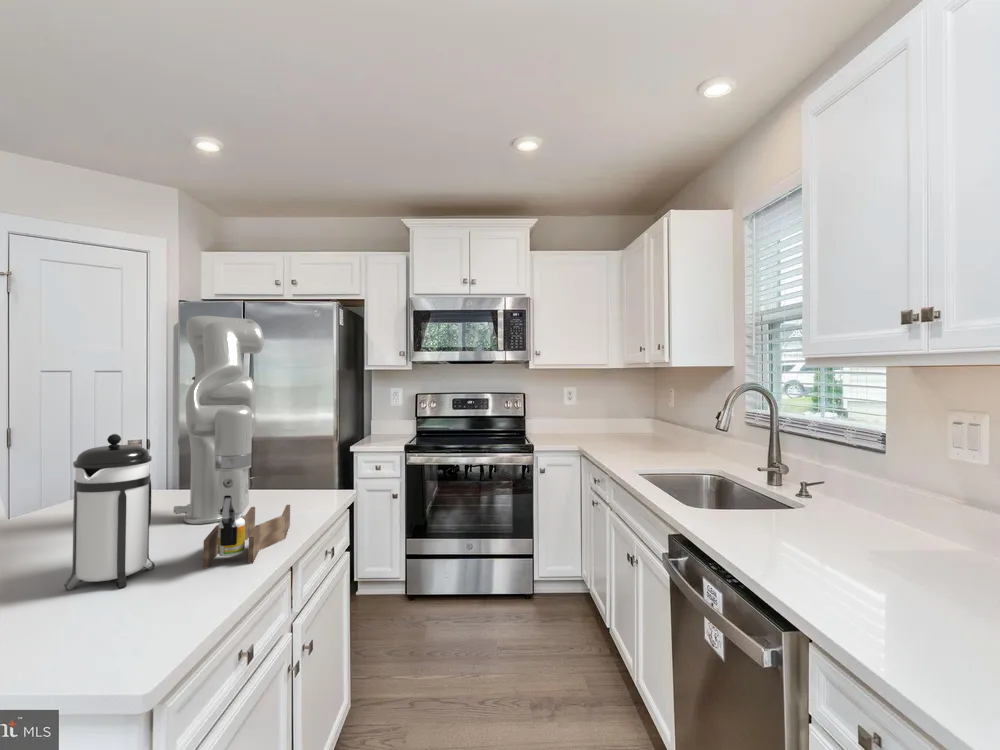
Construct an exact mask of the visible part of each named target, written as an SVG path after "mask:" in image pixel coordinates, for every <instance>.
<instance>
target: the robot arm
mask: <svg viewBox="0 0 1000 750" xmlns="http://www.w3.org/2000/svg"><path fill="white" fill-rule="evenodd" d="M185 328H186V329H185V331H186V337H187V341H188V343H189V347H190V348H191V352H192V353H193V357H194V364H195V365H194V381H193V383H191V385H190V387H189V388H188V390H187V393H186V397H185V421H186V422H185V423H186V429H187V431H188V437H189V445H190V501H189V504H186V505H175V506H173V510H172V511H173V513H174V514H177V515H178V514H185V515H184V517H183V522H184V523H186V524H190V525H191V524H192V525H193V524H194V525H200V524H201V525H202V524H213V523H219V522H220V521H221V538H220V545H221V546H229V545H236V543H237V526H236V515H237V513H239V514H241V513H242V514H243V513H244V512H245V510H246V508H248V505H249V504H250V494H249V493H250V491H249V489H250V488H249V469H250V468H252V449H253V448H252V445H253V444H252V442H253V441H252V440H253V437H254V435H255V432H256V430H255V429H256V405H257V404H256V403H257V401H256V399H257V398H256V395H257V394H256V389H257V388H256V385H255V384H256V383H255V382H254V380H253V378H252V377H251V376H248V375H243V371H244V368H243V362H242V354H248V355H250V354H252V355H253V354H254V355H256V354H259V353H261V352H262V350H263V349H264V348H263V347H264V343H265V340H264V339H265V338H264V337H265V336H264V333H263V330H262V328H261V326H260V325H259V323H257V322H256V321H255V320H253V319H249V318H242V317H241V318H240V317H229V316H228V317H226V316H215V315H197V316H192V317H190V318H189V319H188V320H187V322H186V327H185ZM232 510H234V513H230V511H232ZM230 516H233V521H232V518H230ZM242 516H243V515H242ZM242 516H241V518H242Z"/></svg>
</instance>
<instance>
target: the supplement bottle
mask: <svg viewBox="0 0 1000 750" xmlns="http://www.w3.org/2000/svg"><path fill="white" fill-rule="evenodd" d="M230 513H234V510H232V511H230ZM241 516H243V512H242V513H241V514H239V513H237V515H236V526H237V543H236V545H229V546H221V545H220V538H221V521H219V522H218V525H219V526H218V554H217V555H218V556H219V557H234V556H238V555H240V554H243V553H244V551H245V549H246V547H245V546H246V542H245V541H246V540H245V520H244V519H243V518H241ZM230 518H232V521H233V516H230Z"/></svg>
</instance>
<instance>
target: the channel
mask: <svg viewBox="0 0 1000 750" xmlns="http://www.w3.org/2000/svg"><path fill="white" fill-rule="evenodd" d="M242 518H243V519H244V520H245V541H246V540H248V562H247V563H252V564H254V563H253V562H255V561H256V559H257V557H258V555H257V554H259V553H258V552H260V551H262V550H264V549H266V548H268V547H270V546H272V545H275V544H277V543H278V541H279V542H281V541H282V540H286V538H287V535H288V533H287V532H289V530H288V529H290V526H291V504H286V505H285V506H284V510H283V512H282V514H281V515H280V516H277V517H275V518H274V517H273V518H272V519H269V520H266V521H264V522H262V523H260V524H259V523H258V524H256V506H251V507H250V508H249V509H248V511H247V513H246V514H245V515H242ZM218 526H219V524H217V525H215V527H214V528H213V529H212V530H211V531H210V533H208V535H207V536H206V537H205V538H204V539H203V549H202V550H203V551H202V552H203V557H202V558H203V559H202V561H203V562H202V568H203V569H205V568H204V567H208V568H209V567H210V566H211V565H212V563H213V562H214V560H215V559H214V558H217V555H219V554H218ZM248 538H249V539H248ZM274 543H275V544H274ZM261 549H262V550H261ZM259 550H260V551H259ZM256 556H257V557H256ZM255 558H256V559H255ZM254 560H255V561H254ZM212 561H213V562H212ZM209 565H210V566H209Z"/></svg>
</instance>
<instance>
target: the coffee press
mask: <svg viewBox="0 0 1000 750" xmlns="http://www.w3.org/2000/svg"><path fill="white" fill-rule="evenodd" d="M106 441H107V443H108V444H109V445H104V446H103V445H102V446H98V447H97V446H96V447H92V448H89V449H86V450H83V451H82V452H80V453H79V454H78V456H77V457H76V460H74V461H73V462H72V466H73V468H74V469H75V479H74V480H73V511H72V512H73V514H72V515H73V521H72V522H73V523H72V524H73V525H72V566H71V567H72V572H71V575H70V576H69V578H68V579H67V580H66V581H65V583H64V584H63V585H64V586H63V587H64V588H65V590H67V591H72V590H74V589H76V588H77V586H79V584H80V583H83V582H104V581H106V582H107V581H112V580H114V582H115V585H116V588H118V589H122V588H126V587H127V586H128V585H127V584H128V581H127V576H130V575H133V574H135V573H137V572H139V571H140V570H142V569H143V568H144V569H145V570H148V571H152V570H154V568H155V566H156V565H155V562H154V561H152V560H151V559H150V555H149V553H150V550H149V549H150V543H149V541H150V540H149V539H150V525H151V520H152V481H151V480H152V479H151V473H150V463H151V462H152V458H153V457H152V455H150V454H149V452H148V450H147V449H146V448H145V447H142V446H139V445H134V444H133V445H132V444H131V445H130V444H120V442H121V441H122V438H121V436H120V434H117V433H114V434H113V433H112V434H111V435H108V437H107V439H106ZM148 561H149V562H150V563H151V566H150V567H146V565H147V563H148ZM74 577H75V578H76V579H78V580H77V581H76V582H75V583H74V584H72V586H70V587H68V585H70V582H71V581H72V580H73V578H74Z"/></svg>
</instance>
